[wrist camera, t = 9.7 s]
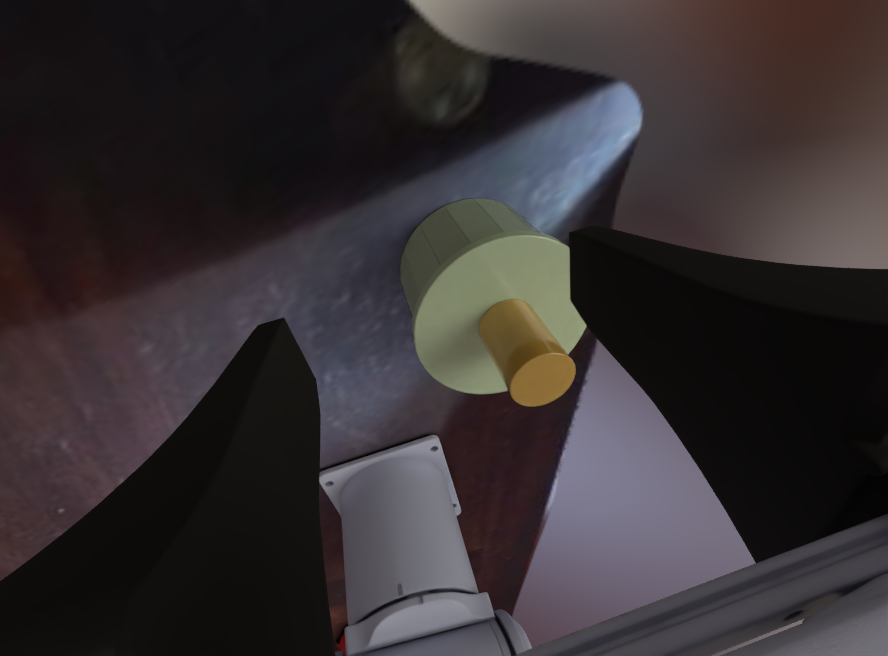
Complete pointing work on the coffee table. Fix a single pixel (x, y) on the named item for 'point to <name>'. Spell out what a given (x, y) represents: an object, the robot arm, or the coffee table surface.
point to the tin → (452, 238)
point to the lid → (501, 318)
